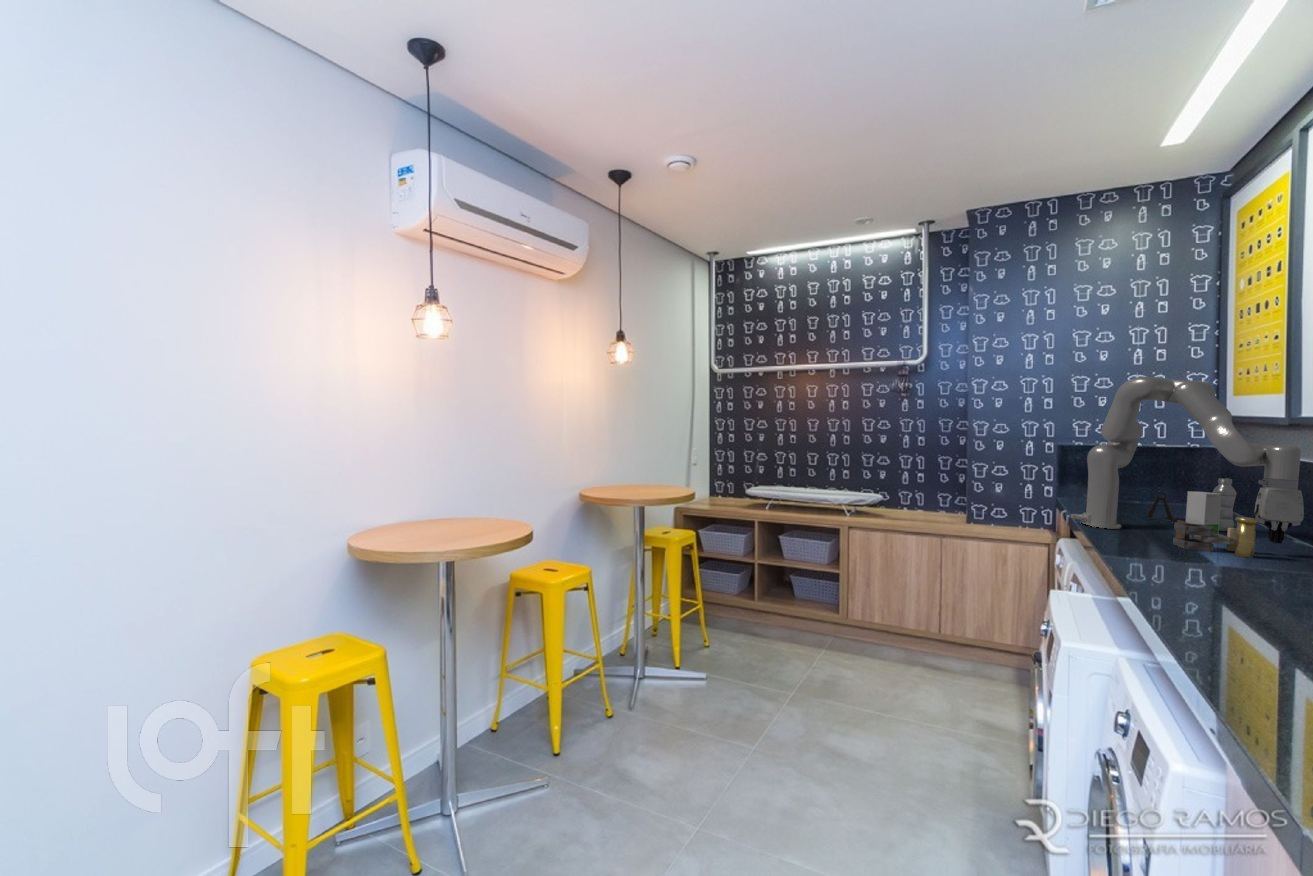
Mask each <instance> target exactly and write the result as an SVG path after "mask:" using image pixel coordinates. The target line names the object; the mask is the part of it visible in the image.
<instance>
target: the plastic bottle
mask: <svg viewBox="0 0 1313 876" xmlns="http://www.w3.org/2000/svg"><path fill="white" fill-rule="evenodd" d="M1217 484H1218V485H1216V486H1215V487H1214V489H1213V491H1212V493H1219V494H1221V507H1220V522H1219V532H1228V528H1234V526H1235V525H1234V524H1235V523H1234V514H1233V512H1234V511H1233V510H1234V505H1235V501H1236V496H1237V490H1235V488H1234V487H1233V486H1232V485H1233V479H1232V478H1226V477H1225V478H1222V477H1219V478H1218V479H1217Z"/></svg>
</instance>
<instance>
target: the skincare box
mask: <svg viewBox="0 0 1313 876" xmlns="http://www.w3.org/2000/svg"><path fill="white" fill-rule="evenodd" d="M1220 507H1221V494H1219V493H1213V492H1206V491H1189V490H1188V491H1187V497H1186V509H1185V511H1186V513H1185V522H1188V523H1190V524H1203V525H1206V526H1208V527H1211V528H1214V529H1215V532H1214V534H1220V531H1219V522H1220Z"/></svg>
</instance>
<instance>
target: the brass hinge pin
mask: <svg viewBox="0 0 1313 876" xmlns="http://www.w3.org/2000/svg"><path fill="white" fill-rule="evenodd" d="M1235 521H1236V523H1237V524H1236V528H1237V535H1236V547H1235V551H1234V556H1236V557H1238V556H1241V557H1240V558H1244V557H1253V558H1254V553H1253V550H1254V551H1255V549H1254V538H1255V539H1256V537H1255V531H1256V524H1258V519H1255V518H1253V517H1247V516H1236V517H1235Z"/></svg>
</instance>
